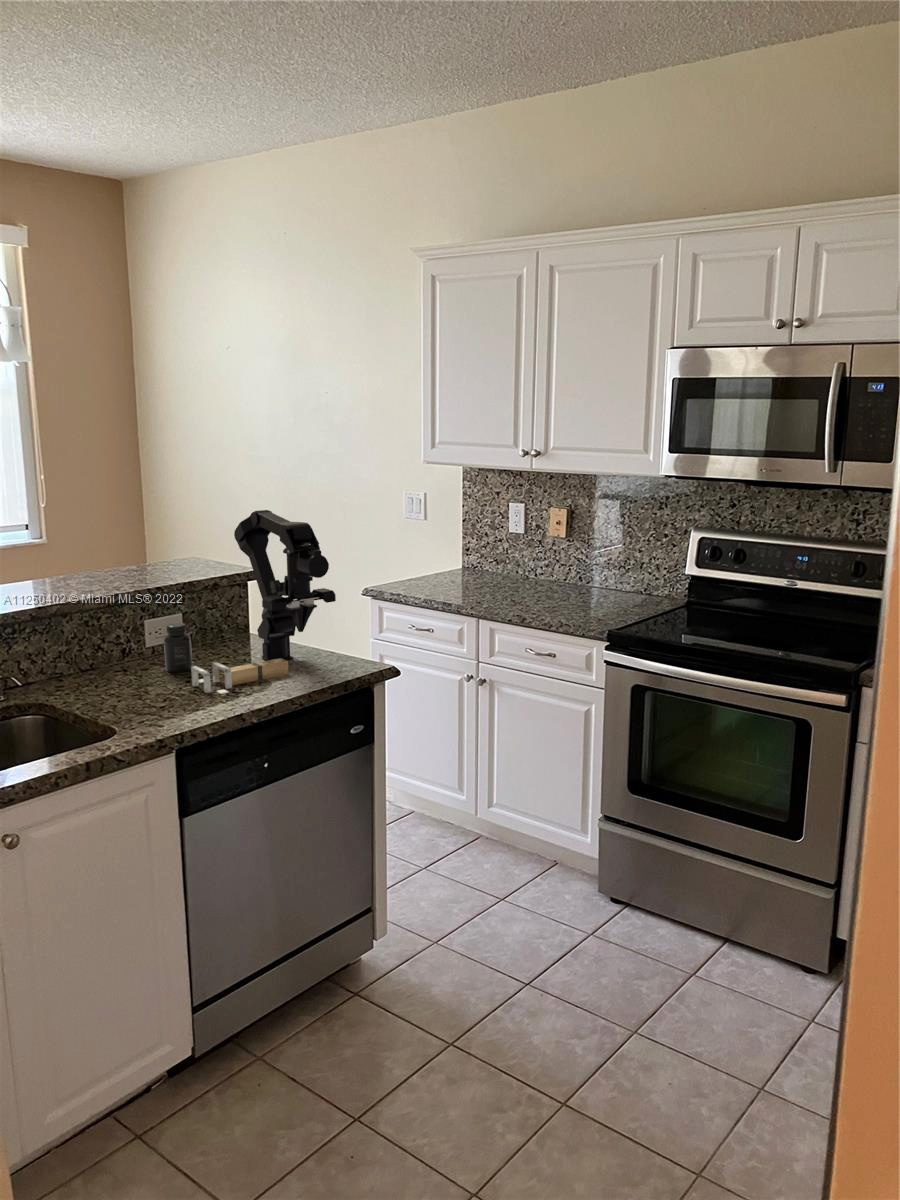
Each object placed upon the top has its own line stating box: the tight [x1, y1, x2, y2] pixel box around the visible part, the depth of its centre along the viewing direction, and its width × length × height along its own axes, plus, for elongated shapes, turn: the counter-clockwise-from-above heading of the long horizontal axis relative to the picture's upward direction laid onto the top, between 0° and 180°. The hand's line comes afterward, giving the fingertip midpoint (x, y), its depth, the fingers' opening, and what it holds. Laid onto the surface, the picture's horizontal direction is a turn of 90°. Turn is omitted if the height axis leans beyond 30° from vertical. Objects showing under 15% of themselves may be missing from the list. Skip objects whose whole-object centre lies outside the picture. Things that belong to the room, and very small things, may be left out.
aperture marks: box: [199, 678, 229, 695], centre depth 235 cm, size 2×14×1 cm, turn 39°
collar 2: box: [211, 661, 233, 690], centre depth 237 cm, size 1×8×5 cm, turn 39°
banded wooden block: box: [223, 658, 289, 686], centre depth 243 cm, size 16×4×4 cm, turn 129°
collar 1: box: [190, 665, 212, 694], centre depth 233 cm, size 1×8×5 cm, turn 39°
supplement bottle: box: [163, 622, 194, 673], centre depth 250 cm, size 7×7×12 cm
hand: (300, 631), depth 249 cm, fingers closed
